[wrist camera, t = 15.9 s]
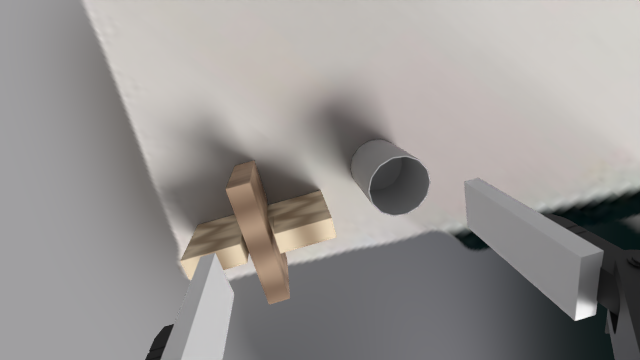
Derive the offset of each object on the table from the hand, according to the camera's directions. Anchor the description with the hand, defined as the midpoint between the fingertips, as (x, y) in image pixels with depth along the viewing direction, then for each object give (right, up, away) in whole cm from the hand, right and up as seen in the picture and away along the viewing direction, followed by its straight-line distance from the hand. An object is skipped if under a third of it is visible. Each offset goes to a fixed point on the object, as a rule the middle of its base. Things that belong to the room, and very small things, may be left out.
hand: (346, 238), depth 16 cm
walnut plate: (-11, -3, +34) cm, 36 cm away
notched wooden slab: (-11, -3, +34) cm, 36 cm away
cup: (+8, +5, +34) cm, 35 cm away
